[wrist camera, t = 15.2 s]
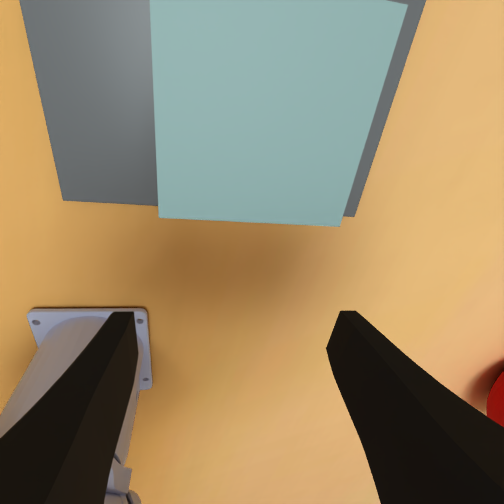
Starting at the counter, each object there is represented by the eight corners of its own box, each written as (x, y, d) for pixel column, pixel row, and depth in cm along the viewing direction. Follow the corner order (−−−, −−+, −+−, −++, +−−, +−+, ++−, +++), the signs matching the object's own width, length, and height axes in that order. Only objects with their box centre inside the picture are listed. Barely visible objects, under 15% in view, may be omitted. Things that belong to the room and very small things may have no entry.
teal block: (294, 173, 13) (339, 226, 9) (173, 163, 12) (158, 217, 8) (322, 28, 10) (407, 5, 6) (172, 1, 9) (147, -49, 5)
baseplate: (350, 213, 21) (354, 216, 20) (67, 196, 17) (63, 200, 17) (431, -40, 14) (440, -43, 14) (-5, -146, 11) (-15, -156, 10)
